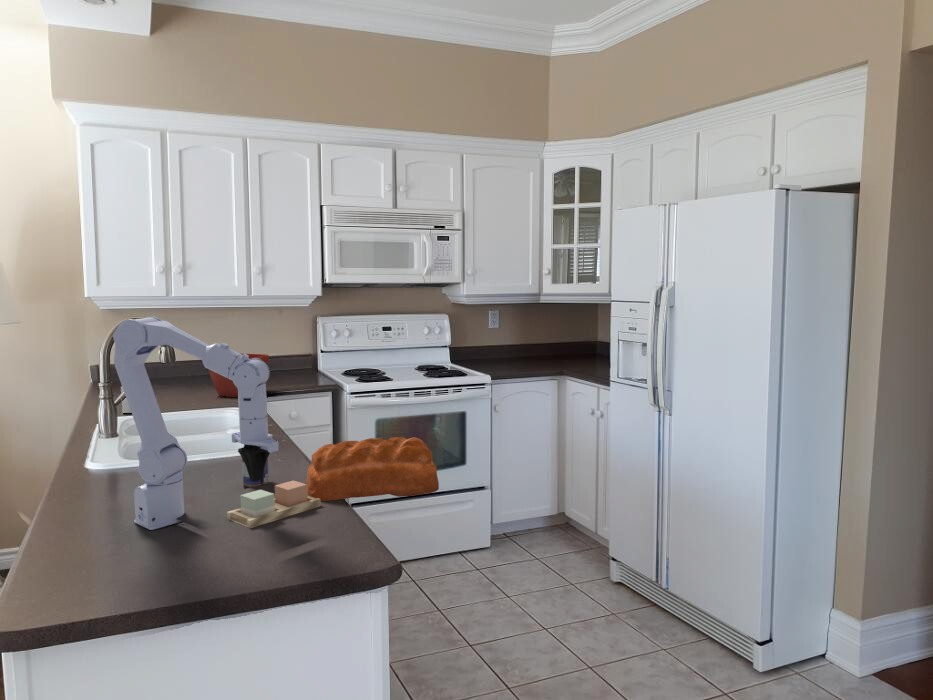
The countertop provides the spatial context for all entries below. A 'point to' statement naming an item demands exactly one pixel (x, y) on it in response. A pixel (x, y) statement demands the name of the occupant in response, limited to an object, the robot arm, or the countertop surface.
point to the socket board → (273, 513)
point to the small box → (125, 404)
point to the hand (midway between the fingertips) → (256, 479)
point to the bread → (372, 469)
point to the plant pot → (226, 385)
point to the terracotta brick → (290, 493)
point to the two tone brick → (257, 503)
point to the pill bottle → (248, 483)
